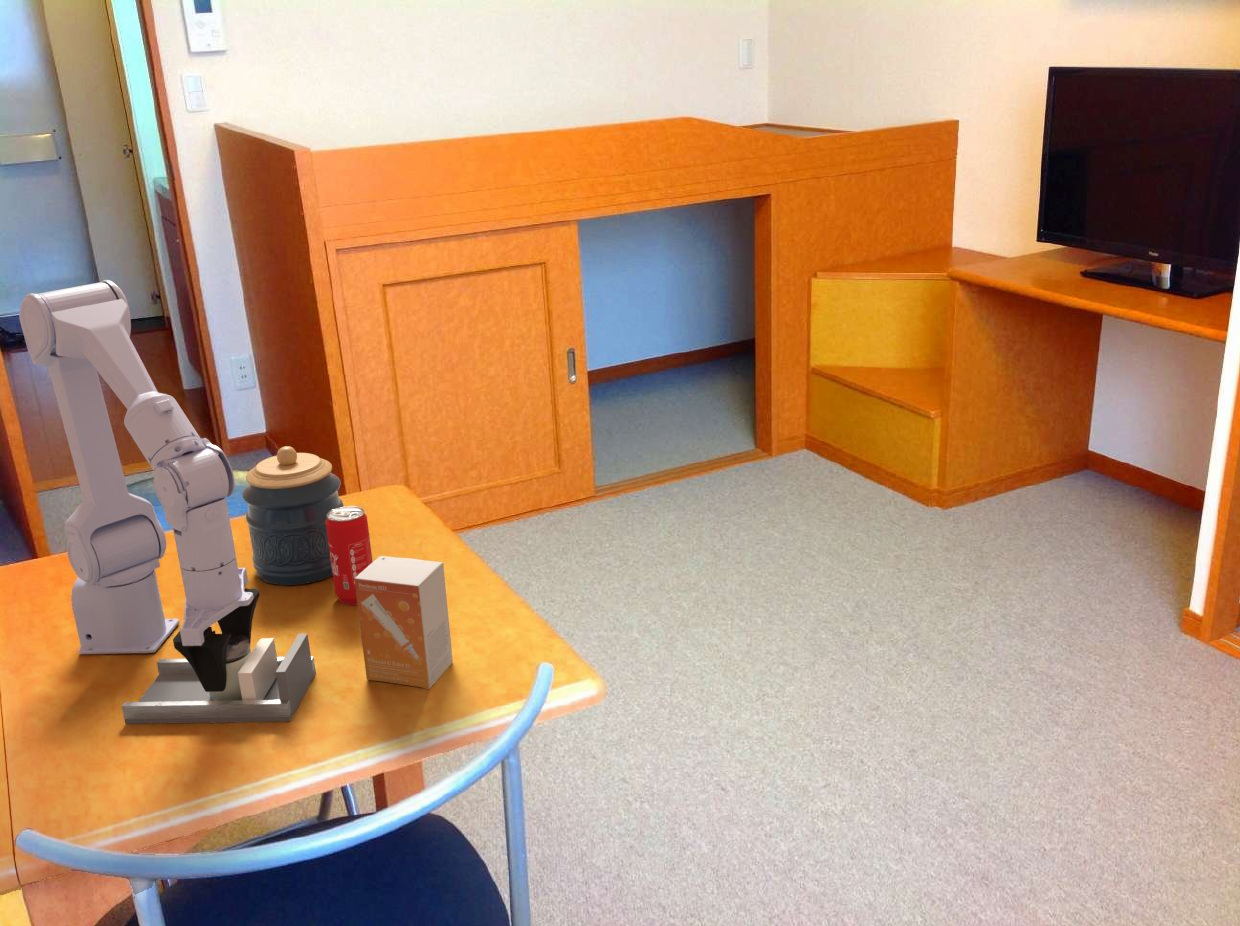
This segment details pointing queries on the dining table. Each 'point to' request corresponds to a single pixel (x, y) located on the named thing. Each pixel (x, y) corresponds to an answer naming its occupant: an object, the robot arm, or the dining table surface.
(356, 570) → the beverage can
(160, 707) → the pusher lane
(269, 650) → the block
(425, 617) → the small box
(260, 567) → the canister
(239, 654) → the cream jar with lid
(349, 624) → the dining table surface
